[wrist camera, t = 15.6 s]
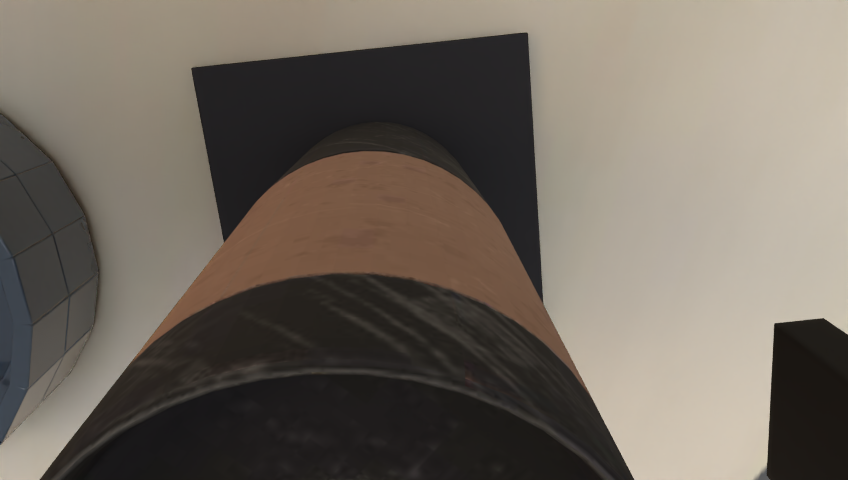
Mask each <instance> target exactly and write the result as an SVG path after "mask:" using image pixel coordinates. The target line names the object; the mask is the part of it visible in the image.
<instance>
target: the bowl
mask: <svg viewBox="0 0 848 480" xmlns="http://www.w3.org/2000/svg"><path fill="white" fill-rule="evenodd" d="M98 271H99V270H98V266H97V262H96V258H95V254H94V250H93V246H92V242H91V238H90V234H89V229H88V225H87V221H86V217H85V214H84V212H83V211H82V209H81V207H80V206H79V204H78V203H77V201H76V199H75V198H74V196H73V194H72V193H71V191H70V189H69V188H68V186H67V184H66V183H65V181H64V179H63V178H62V176H61V174H60V173H59V171H58V169H57V168H56V166H55V164H54V163H53V162H51V160H50V159H49V158H48V157H47V156H46V155H45V154H44V153H43V152H42V151H41V150H40V149H39V148H38V147H37V146H35V145H34V144H33V143H32V142H31V141H30V140H29V139H28V138H27V137H26V136H25V135H24V134H23V133H22V132H20V131H19V130H18V129H17V128H16V127H15V126H14V125H13V124H12V123H11V122H10V121H9V120H8V119H6V118H5V117H4V116H2V114H0V445H1V444H2V443H3V442H4V441H5V440H6V439H7V438H8V437H9V436H10V435H11V434H12V433H13V432H14V431H15V430H16V429H17V428H18V427H19V425H20V424H21V423H22V422H23V421H24V420H25V419H26V418H27V417H28V416H29V415H30V414H31V413H32V412H33V411H34V410H35V409H36V408H37V407H38V406H39V405H40V404H41V403H42V402H43V401H44V400H45V398H46V397H47V396H48V395H49V394H50V393H51V392H52V391H53V390H54V389H55V388H56V387H57V386H58V385H59V384H60V383H61V382H62V381H63V380H64V379H65V378H66V377H67V376H68V375H69V374H70V372H71V371H72V369H73V367H74V365H75V363H76V361H77V359H78V357H79V355H80V353H81V351H82V349H83V347H84V345H85V343H86V341H87V339H88V337H89V335H90V333H91V331H92V329H93V325H94V317H95V307H96V296H97V286H98V276H99V274H98Z"/></svg>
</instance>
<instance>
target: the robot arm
mask: <svg viewBox="0 0 848 480" xmlns="http://www.w3.org/2000/svg"><path fill="white" fill-rule="evenodd" d="M767 476H768V477H769V479H770V480H848V335H847V334H846V333H844V332H843V331H841V330H840V329H838V328H837V327H835V326H834V325H833V324H831V323H830V322H828V321H827V320H825V319H824V318H822V319H812V320H803V321H794V322H784V323H775V324H774V342H773V362H772V382H771V401H770V421H769V441H768V461H767Z"/></svg>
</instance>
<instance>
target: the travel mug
mask: <svg viewBox="0 0 848 480" xmlns="http://www.w3.org/2000/svg"><path fill="white" fill-rule="evenodd" d="M40 480H634V478H633V476H632V475H631V473H630V471H629V469H628V467H627V465H626V463H625V461H624V459H623V457H622V455H621V453H620V451H619V450H618V448H617V446H616V444H615V442H614V440H613V438H612V436H611V434H610V432H609V430H608V428H607V426H606V425H605V423H604V421H603V419H602V417H601V415H600V413H599V411H598V409H597V407H596V405H595V403H594V401H593V400H592V398H591V396H590V394H589V392H588V390H587V388H586V386H585V384H584V382H583V380H582V378H581V376H580V375H579V373H578V371H577V369H576V367H575V365H574V363H573V361H572V359H571V357H570V355H569V353H568V351H567V349H566V348H565V346H564V344H563V342H562V340H561V338H560V336H559V334H558V332H557V330H556V328H555V326H554V324H553V322H552V321H551V319H550V317H549V315H548V313H547V311H546V309H545V307H544V305H543V303H542V301H541V299H540V297H539V295H538V294H537V292H536V290H535V288H534V286H533V284H532V282H531V280H530V278H529V276H528V274H527V272H526V270H525V268H524V267H523V265H522V263H521V261H520V259H519V257H518V255H517V253H516V251H515V249H514V247H513V245H512V243H511V241H510V240H509V238H508V236H507V234H506V232H505V230H504V228H503V226H502V224H501V222H500V221H499V219H498V218H497V216H496V215H495V213H494V212H493V210H492V209H491V208H490V206H489V205H488V203H487V202H486V201H485V199H484V198H483V196H482V195H481V194H480V192H479V191H478V189H477V188H476V187H475V185H474V184H473V182H472V181H471V180H470V178H469V177H468V175H467V174H466V173H465V171H464V170H463V168H462V167H461V166H460V164H459V163H458V162H457V160H456V159H455V158H454V157H453V156H452V155H451V154H450V153H449V152H448V150H447V149H446V148H444V147H443V146H442V145H441V144H440V143H438V142H437V141H436V140H434V139H433V138H431V137H430V136H428V135H426V134H425V133H423V132H421V131H418V130H416V129H414V128H411V127H408V126H405V125H401V124H396V123H390V122H368V123H360V124H356V125H352V126H349V127H346V128H344V129H341V130H338V131H336V132H334V133H333V134H331V135H329V136H327V137H325V138H324V139H323V140H321V141H320V142H319V143H317V144H316V145H315V146H313V147H312V148H311V149H310V150H309V151H308V152H307V153H306V154H305V155H304V156H302V157H301V158H300V159H299V160H298V161H297V162H296V163H295V164H294V165H293V166H292V167H291V168H290V169H289V170H288V171H287V172H286V173H285V174H284V175H283V176H282V177H281V178H280V179H279V180H278V181H277V182H275V183H274V184H273V185H272V186H271V187H270V188H269V189H268V190H267V191H266V192H265V193H264V194H263V195H262V196H261V197H260V198H259V199H258V200H257V201H256V203H255V204H254V205H253V207H252V208H251V209H250V210H249V212H248V213H247V214H246V216H245V217H244V218H243V219H242V221H241V222H240V223H239V225H238V226H237V227H236V228H235V230H234V231H233V232H232V234H231V235H230V236H229V237H228V239H227V240H226V241H225V242H224V244H223V245H222V246H221V248H220V249H219V250H218V251H217V253H216V254H215V255H214V257H213V258H212V259H211V260H210V262H209V263H208V264H207V266H206V267H205V268H204V269H203V271H202V272H201V273H200V275H199V276H198V277H197V278H196V280H195V281H194V282H193V284H192V285H191V286H190V287H189V289H188V290H187V291H186V293H185V294H184V295H183V296H182V298H181V299H180V300H179V301H178V303H177V304H176V305H175V307H174V308H173V309H172V310H171V312H170V313H169V314H168V316H167V317H166V318H165V319H164V321H163V322H162V323H161V325H160V326H159V327H158V328H157V330H156V331H155V332H154V334H153V335H152V336H151V337H150V339H149V340H148V341H147V343H146V344H145V345H144V346H143V348H142V349H141V350H140V352H139V353H138V354H137V355H136V357H135V358H134V359H133V361H132V362H131V363H130V364H129V366H128V367H127V368H126V369H125V371H124V372H123V373H122V375H121V376H120V377H119V378H118V380H117V381H116V382H115V384H114V385H113V386H112V387H111V389H110V390H109V391H108V392H107V394H106V395H105V396H104V398H103V399H102V400H101V401H100V403H99V404H98V405H97V407H96V408H95V409H94V410H93V412H92V413H91V414H90V416H89V417H88V418H87V419H86V421H85V422H84V423H83V424H82V426H81V427H80V428H79V430H78V431H77V432H76V433H75V435H74V436H73V437H72V439H71V440H70V441H69V442H68V444H67V445H66V446H65V448H64V449H63V450H62V451H61V453H60V454H59V455H58V457H57V458H56V459H55V460H54V462H53V463H52V464H51V466H50V467H49V468H48V470H47V471H46V472H45V474H44V475H43V476H42V477H41V479H40Z"/></svg>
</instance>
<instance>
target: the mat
mask: <svg viewBox="0 0 848 480" xmlns="http://www.w3.org/2000/svg"><path fill="white" fill-rule="evenodd" d="M191 70H192V75H193V80H194V86H195V91H196V96H197V102H198V107H199V112H200V117H201V123H202V128H203V133H204V139H205V144H206V149H207V154H208V160H209V165H210V170H211V176H212V181H213V186H214V191H215V197H216V202H217V207H218V213H219V218H220V223H221V228H222V234H223V239H224V242H225V241H226V240H227V239H228V237H229V236H230V235H231V234H232V232H233V231H234V230H235V228H236V227H237V226H238V225H239V223H240V222H241V221H242V219H243V218H244V217H245V216H246V214H247V213H248V212H249V210H250V209H251V208H252V207H253V205H254V204H255V203H256V201H257V200H258V199H259V198H260V197H261V196H262V195H263V194H264V193H265V192H266V191H267V190H268V189H269V188H270V187H271V186H272V185H273V184H274V183H275V182H277V181H278V180H279V179H280V178H281V177H282V176H283V175H284V174H285V173H286V172H287V171H288V170H289V169H290V168H291V167H292V166H293V165H294V164H295V163H296V162H297V161H298V160H299V159H300V158H301V157H302V156H304V155H305V154H306V153H307V152H308V151H309V150H310V149H311V148H312V147H313V146H315V145H316V144H317V143H319V142H320V141H321V140H323V139H324V138H325V137H327V136H329V135H331V134H333V133H334V132H336V131H338V130H341V129H344V128H346V127H349V126H352V125H356V124H360V123H368V122H390V123H396V124H401V125H405V126H408V127H411V128H414V129H416V130H418V131H421V132H423V133H425V134H426V135H428V136H430V137H431V138H433V139H434V140H436V141H437V142H438V143H440V144H441V145H442V146H443V147H444V148H446V149H447V150H448V152H449V153H450V154H451V155H452V156H453V157H454V158H455V159H456V160H457V162H458V163H459V164H460V166H461V167H462V168H463V170H464V171H465V173H466V174H467V175H468V177H469V178H470V180H471V181H472V182H473V184H474V185H475V187H476V188H477V189H478V191H479V192H480V194H481V195H482V196H483V198H484V199H485V201H486V202H487V203H488V205H489V206H490V208H491V209H492V210H493V212H494V213H495V215H496V216H497V218H498V219H499V221H500V222H501V224H502V226H503V228H504V230H505V232H506V234H507V236H508V238H509V240H510V241H511V243H512V245H513V247H514V249H515V251H516V253H517V255H518V257H519V259H520V261H521V263H522V265H523V267H524V268H525V270H526V272H527V274H528V276H529V278H530V280H531V282H532V284H533V286H534V288H535V290H536V292H537V294H538V295H539V297H540V299H541V301H542V303H543V293H542V276H541V258H540V240H539V223H538V205H537V188H536V170H535V153H534V135H533V117H532V100H531V82H530V65H529V47H528V33H517V34H508V35H498V36H489V37H479V38H470V39H460V40H451V41H441V42H432V43H422V44H413V45H403V46H394V47H384V48H375V49H365V50H356V51H346V52H337V53H327V54H318V55H308V56H299V57H289V58H280V59H271V60H261V61H252V62H242V63H233V64H223V65H214V66H204V67H195V68H192V69H191Z"/></svg>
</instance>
